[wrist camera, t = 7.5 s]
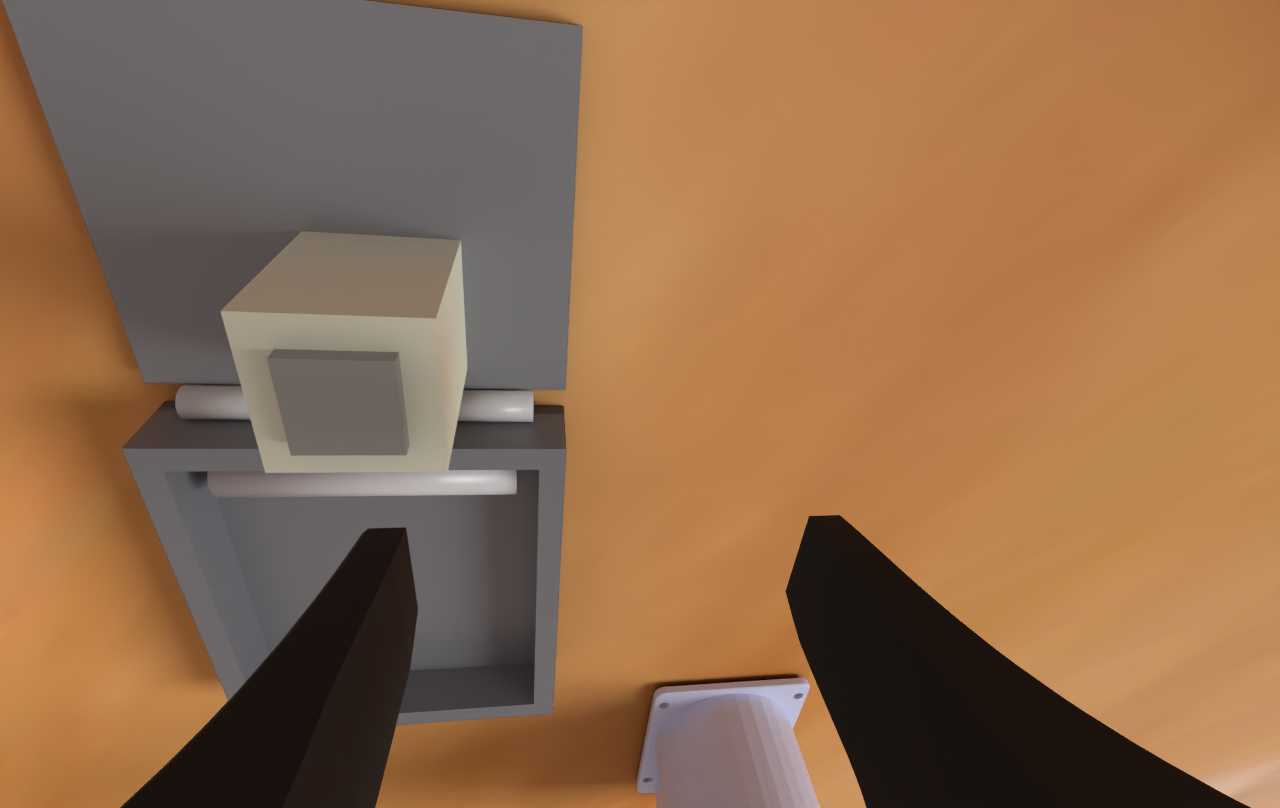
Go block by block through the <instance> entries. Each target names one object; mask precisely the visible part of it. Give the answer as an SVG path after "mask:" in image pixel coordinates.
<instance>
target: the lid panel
mask: <svg viewBox="0 0 1280 808" xmlns="http://www.w3.org/2000/svg"><path fill="white" fill-rule="evenodd" d="M2 2H3V5H4V7H5V10H6V13H7V15H8V18H9V21H10V23H11V26H12V29H13V31H14V34H15V37H16V39H17V42H18V45H19V48H20V50H21V53H22V56H23V58H24V61H25V64H26V66H27V69H28V72H29V74H30V77H31V80H32V82H33V85H34V88H35V90H36V93H37V96H38V99H39V101H40V104H41V107H42V109H43V112H44V115H45V117H46V120H47V123H48V125H49V128H50V131H51V133H52V136H53V139H54V141H55V144H56V147H57V150H58V152H59V155H60V158H61V160H62V163H63V166H64V168H65V171H66V174H67V176H68V179H69V182H70V184H71V187H72V190H73V192H74V195H75V198H76V201H77V203H78V206H79V209H80V211H81V214H82V217H83V219H84V222H85V225H86V227H87V230H88V233H89V235H90V238H91V241H92V243H93V246H94V249H95V252H96V254H97V257H98V260H99V262H100V265H101V268H102V270H103V273H104V276H105V278H106V281H107V284H108V286H109V289H110V292H111V294H112V297H113V300H114V303H115V305H116V308H117V311H118V313H119V316H120V319H121V321H122V324H123V327H124V329H125V332H126V335H127V337H128V340H129V343H130V345H131V348H132V351H133V354H134V356H135V359H136V362H137V364H138V367H139V370H140V372H141V375H142V378H143V380H144V383H177V384H235V385H241V384H240V380H239V376H238V373H237V369H236V366H235V362H234V358H233V355H232V351H231V348H230V344H229V340H228V337H227V333H226V330H225V326H224V322H223V319H222V315H221V312H220V311H221V310H222V309H223V308H224V307H225V306H226V305H227V304H228V303H229V302H230V301H231V300H232V299H233V298H234V297H235V296H236V295H237V294H238V293H239V292H240V291H241V290H242V289H243V288H244V287H245V286H246V285H247V284H248V283H249V282H250V281H252V280H253V279H254V278H255V277H256V276H257V275H258V274H259V273H260V272H261V271H262V270H263V269H264V268H265V267H266V266H267V265H268V264H269V263H270V262H271V261H272V260H273V259H274V258H275V257H276V256H277V255H278V254H279V253H280V252H281V251H282V250H283V249H284V248H285V247H286V246H287V245H288V244H289V243H290V242H291V241H292V240H293V239H294V238H295V237H296V236H297V235H298V234H299V233H300V232H301V231H309V232H327V233H345V234H363V235H380V236H398V237H416V238H434V239H452V240H461V252H462V272H463V291H464V311H465V331H466V350H467V373H466V379H465V384H464V388H469V389H528V390H469V389H463V395H462V400H461V405H460V410H459V416H458V421H482V422H533V408H534V391H529V390H565V388H566V367H567V346H568V325H569V304H570V282H571V261H572V240H573V219H574V198H575V176H576V155H577V134H578V113H579V92H580V70H581V49H582V28H583V26H581V25H574V24H565V23H557V22H548V21H540V20H531V19H523V18H515V17H506V16H498V15H489V14H481V13H472V12H464V11H455V10H447V9H438V8H430V7H421V6H413V5H405V4H396V3H388V2H379V1H371V0H2ZM175 407H176V411H177V413H178V415H179V416H180V417H181V418H182V419H239V420H251V419H250V416H249V412H248V409H247V405H246V402H245V398H244V394H243V391H242V387H241V386H232V385H182V386H181V387H180V388H179V389H178V391H177V394H176V398H175Z"/></svg>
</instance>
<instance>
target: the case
mask: <svg viewBox="0 0 1280 808" xmlns="http://www.w3.org/2000/svg"><path fill="white" fill-rule="evenodd" d="M122 451H123V454H124V456H125V458H126V461H127V463H128V465H129V468H130V470H131V473H132V475H133V477H134V480H135V482H136V484H137V487H138V489H139V491H140V494H141V496H142V499H143V501H144V503H145V506H146V508H147V510H148V513H149V515H150V517H151V520H152V522H153V525H154V527H155V529H156V532H157V534H158V536H159V539H160V541H161V543H162V546H163V548H164V551H165V553H166V555H167V558H168V560H169V562H170V565H171V567H172V569H173V572H174V574H175V577H176V579H177V581H178V584H179V586H180V588H181V591H182V593H183V595H184V598H185V600H186V603H187V605H188V607H189V610H190V612H191V614H192V617H193V619H194V621H195V624H196V626H197V628H198V631H199V633H200V636H201V638H202V640H203V643H204V645H205V647H206V650H207V652H208V654H209V657H210V659H211V662H212V664H213V666H214V669H215V671H216V673H217V676H218V678H219V680H220V683H221V685H222V688H223V690H224V692H225V695H226V697H227V699H228V701H229V700H230V699H231V698H232V696H233V695H234V694H235V693H236V692H237V691H238V690H239V689H240V688H241V686H242V685H243V684H244V683H245V682H246V681H247V680H248V678H249V677H250V676H251V675H252V674H253V673H254V672H255V670H256V669H257V668H258V667H259V666H260V665H261V664H262V662H263V661H264V660H265V659H266V658H267V657H268V656H269V654H270V653H271V652H272V651H273V650H274V649H275V648H276V646H277V645H278V644H279V643H280V642H281V640H282V639H283V638H284V637H285V636H286V634H287V633H288V632H289V631H290V629H291V628H292V627H293V626H294V624H295V623H296V622H297V621H298V619H299V618H300V617H301V615H302V614H303V613H304V612H305V610H306V609H307V608H308V607H309V605H310V604H311V603H312V602H313V600H314V599H315V598H316V597H317V595H318V594H319V593H320V591H321V590H322V589H323V587H324V586H325V585H326V583H327V582H328V581H329V579H330V578H331V577H332V575H333V574H334V573H335V571H336V570H337V568H338V567H339V566H340V564H341V563H342V561H343V560H344V559H345V557H346V556H347V554H348V553H349V552H350V550H351V549H352V547H353V546H354V544H355V543H356V541H357V540H358V539H359V537H360V536H361V534H362V533H363V532H364V531H366V530H367V529H368V528H402V527H406V530H407V537H408V543H409V550H410V557H411V564H412V571H413V577H414V584H415V591H416V598H417V604H418V615H417V622H416V630H415V638H414V645H413V652H412V659H411V666H410V671H409V675H408V679H407V683H406V687H405V691H404V695H403V699H402V703H401V707H400V711H399V715H398V719H397V723H396V725H405V724H419V723H433V722H446V721H460V720H474V719H488V718H502V717H516V716H530V715H544V714H553V700H554V680H555V661H556V641H557V622H558V602H559V583H560V563H561V543H562V524H563V504H564V485H565V465H566V436H565V421H564V406H534V408H533V422H482V421H457V426H456V432H455V437H454V442H453V447H452V453H451V458H450V463H449V469H448V472H337V473H265V470H264V466H263V463H262V459H261V455H260V452H259V448H258V445H257V441H256V437H255V434H254V430H253V427H252V423H251V420H239V419H182V418H181V417H180V416H179V415H178V413H177V411H176V407H175V401H165V402H164V403H163V404H162V405H161V406H160V408H159V409H158V410H157V411H156V412H155V413H154V414H153V415H152V416H151V417H150V418H149V419H148V420H147V422H146V423H145V424H144V425H143V426H142V427H141V428H140V429H139V430H138V431H137V432H136V433H135V434H134V436H133V437H132V438H131V439H130V440H129V441H128V442H127V443H126V444H125V445H124V446H123V447H122Z"/></svg>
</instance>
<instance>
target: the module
mask: <svg viewBox="0 0 1280 808" xmlns="http://www.w3.org/2000/svg"><path fill="white" fill-rule="evenodd" d="M220 312H221V315H222V319H223V322H224V326H225V330H226V333H227V337H228V340H229V344H230V348H231V351H232V355H233V358H234V362H235V366H236V369H237V373H238V376H239V380H240V384H241V387H242V391H243V394H244V398H245V402H246V405H247V409H248V412H249V416H250V419H251V423H252V427H253V430H254V434H255V437H256V441H257V445H258V448H259V452H260V455H261V459H262V463H263V466H264V470H265V473H337V472H448V469H449V463H450V458H451V453H452V447H453V442H454V437H455V432H456V426H457V421H458V416H459V410H460V405H461V400H462V395H463V389H464V384H465V379H466V373H467V350H466V331H465V311H464V291H463V272H462V252H461V240H452V239H434V238H416V237H398V236H380V235H363V234H345V233H327V232H309V231H301V232H300V233H299V234H298V235H297V236H296V237H295V238H294V239H293V240H292V241H291V242H290V243H289V244H288V245H287V246H286V247H285V248H284V249H283V250H282V251H281V252H280V253H279V254H278V255H277V256H276V257H275V258H274V259H273V260H272V261H271V262H270V263H269V264H268V265H267V266H266V267H265V268H264V269H263V270H262V271H261V272H260V273H259V274H258V275H257V276H256V277H255V278H254V279H253V280H252V281H250V282H249V283H248V284H247V285H246V286H245V287H244V288H243V289H242V290H241V291H240V292H239V293H238V294H237V295H236V296H235V297H234V298H233V299H232V300H231V301H230V302H229V303H228V304H227V305H226V306H225V307H224V308H223V309H222V310H221V311H220Z"/></svg>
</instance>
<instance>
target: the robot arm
mask: <svg viewBox="0 0 1280 808" xmlns="http://www.w3.org/2000/svg"><path fill="white" fill-rule="evenodd" d="M786 594H787V598H788V602H789V606H790V609H791V613H792V617H793V621H794V624H795V627H796V631H797V634H798V637H799V641H800V644H801V646H802V649H803V651H804V654H805V656H806V659H807V661H808V663H809V666H810V668H811V671H812V673H813V675H814V678H815V680H816V683H817V685H818V687H819V690H820V692H821V694H822V697H823V699H824V701H825V704H826V706H827V708H828V711H829V713H830V715H831V718H832V720H833V722H834V725H835V727H836V730H837V732H838V734H839V737H840V739H841V741H842V744H843V746H844V748H845V751H846V753H847V755H848V758H849V760H850V763H851V765H852V768H853V770H854V773H855V776H856V778H857V781H858V783H859V786H860V789H861V792H862V795H863V798H864V801H865V804H866V807H867V808H1250V807H1248V806H1246V805H1244V804H1242V803H1240V802H1238V801H1236V800H1234V799H1233V798H1231V797H1229V796H1227V795H1225V794H1223V793H1221V792H1219V791H1218V790H1216V789H1214V788H1212V787H1210V786H1209V785H1207V784H1205V783H1203V782H1201V781H1200V780H1198V779H1196V778H1194V777H1192V776H1191V775H1189V774H1187V773H1185V772H1183V771H1182V770H1180V769H1178V768H1176V767H1174V766H1173V765H1171V764H1169V763H1167V762H1166V761H1164V760H1162V759H1161V758H1159V757H1157V756H1155V755H1154V754H1152V753H1150V752H1149V751H1147V750H1145V749H1144V748H1142V747H1140V746H1138V745H1137V744H1135V743H1133V742H1132V741H1130V740H1128V739H1127V738H1125V737H1124V736H1122V735H1120V734H1119V733H1117V732H1116V731H1114V730H1113V729H1111V728H1109V727H1108V726H1106V725H1105V724H1103V723H1101V722H1100V721H1098V720H1097V719H1095V718H1093V717H1092V716H1090V715H1089V714H1087V713H1085V712H1084V711H1082V710H1081V709H1079V708H1078V707H1076V706H1075V705H1073V704H1072V703H1070V702H1069V701H1067V700H1066V699H1064V698H1063V697H1061V696H1060V695H1058V694H1057V693H1055V692H1054V691H1053V690H1051V689H1050V688H1048V687H1047V686H1045V685H1044V684H1043V683H1041V682H1040V681H1038V680H1037V679H1036V678H1034V677H1033V676H1031V675H1030V674H1029V673H1027V672H1026V671H1024V670H1023V669H1021V668H1020V667H1019V666H1017V665H1016V664H1015V663H1013V662H1012V661H1011V660H1009V659H1008V658H1007V657H1005V656H1004V655H1002V654H1001V653H1000V652H999V651H997V650H996V649H995V648H993V647H992V646H991V645H990V644H988V643H987V642H986V641H985V640H983V639H982V638H981V637H979V636H978V635H977V634H976V633H974V632H973V631H972V630H971V629H969V628H968V627H967V626H966V625H964V624H963V623H962V622H961V621H959V620H958V619H957V618H956V617H955V616H953V615H952V614H951V613H950V612H949V611H948V610H946V609H945V608H944V607H943V606H942V605H940V604H939V603H938V602H937V601H936V600H935V599H933V598H932V597H931V596H930V595H929V594H928V593H926V592H925V591H924V590H923V589H922V588H921V587H920V586H918V585H917V584H916V583H915V582H914V581H913V580H912V579H911V578H909V577H908V576H907V575H906V574H905V573H904V572H903V571H902V570H900V569H899V568H898V567H897V566H896V565H895V564H894V563H893V562H892V561H891V560H889V559H888V558H887V557H886V556H885V555H884V554H883V553H882V552H881V551H880V550H878V549H877V548H876V547H875V546H874V545H873V544H872V543H871V542H870V541H868V540H867V539H866V538H865V537H864V536H863V535H862V534H861V533H860V532H859V531H857V530H856V529H855V528H854V527H853V526H852V525H851V524H849V523H848V522H847V521H846V520H845V519H844V518H842V517H841V516H840V515H831V516H809V519H808V522H807V525H806V528H805V531H804V535H803V538H802V541H801V544H800V547H799V550H798V554H797V557H796V560H795V563H794V566H793V570H792V573H791V576H790V579H789V582H788V585H787V589H786ZM417 615H418V604H417V598H416V591H415V584H414V577H413V571H412V564H411V557H410V550H409V543H408V537H407V530H406V527H402V528H368V529H367V530H366V531H364V532H363V533H362V534H361V536H360V537H359V539H358V540H357V541H356V543H355V544H354V546H353V547H352V549H351V550H350V552H349V553H348V554H347V556H346V557H345V559H344V560H343V561H342V563H341V564H340V566H339V567H338V568H337V570H336V571H335V573H334V574H333V575H332V577H331V578H330V579H329V581H328V582H327V583H326V585H325V586H324V587H323V589H322V590H321V591H320V593H319V594H318V595H317V597H316V598H315V599H314V600H313V602H312V603H311V604H310V605H309V607H308V608H307V609H306V610H305V612H304V613H303V614H302V615H301V617H300V618H299V619H298V621H297V622H296V623H295V624H294V626H293V627H292V628H291V629H290V631H289V632H288V633H287V634H286V636H285V637H284V638H283V639H282V640H281V642H280V643H279V644H278V645H277V646H276V648H275V649H274V650H273V651H272V652H271V653H270V654H269V656H268V657H267V658H266V659H265V660H264V661H263V662H262V664H261V665H260V666H259V667H258V668H257V669H256V670H255V672H254V673H253V674H252V675H251V676H250V677H249V678H248V680H247V681H246V682H245V683H244V684H243V685H242V686H241V688H240V689H239V690H238V691H237V692H236V693H235V694H234V695H233V696H232V698H231V699H230V700H229V701H228V702H227V703H226V704H225V705H224V706H223V707H222V708H221V709H220V710H219V711H218V713H217V714H216V715H215V716H214V717H213V718H212V719H211V720H210V721H209V722H208V723H207V724H206V725H205V726H204V727H203V728H202V729H201V730H200V731H199V732H198V733H197V734H196V735H195V736H194V737H193V738H192V739H191V740H190V741H189V742H188V743H187V744H186V745H185V746H184V747H183V748H182V749H181V750H180V751H179V752H178V753H177V754H176V755H175V756H174V757H173V758H172V759H171V760H170V761H169V762H168V763H167V764H166V765H165V766H164V767H163V768H162V769H161V770H160V771H159V772H158V773H157V774H156V775H155V776H153V777H152V778H151V779H150V780H149V781H148V782H147V783H146V784H145V785H144V786H143V787H142V788H141V789H140V790H139V791H138V792H136V793H135V794H134V795H133V796H132V797H131V798H130V799H129V800H128V801H127V802H126V803H125V804H124V805H123V806H122V807H120V808H375V806H376V802H377V798H378V794H379V790H380V786H381V782H382V779H383V775H384V771H385V767H386V763H387V759H388V755H389V751H390V747H391V743H392V739H393V735H394V731H395V727H396V723H397V719H398V715H399V711H400V707H401V703H402V699H403V695H404V691H405V687H406V683H407V679H408V675H409V671H410V666H411V659H412V652H413V645H414V638H415V630H416V622H417ZM809 689H810V686H809V683H808V681H807V679H805V678H788V679H773V680H758V681H743V682H728V683H713V684H698V685H683V686H668V687H661V688H659V689H657V690H656V691H655V692H654V695H653V700H652V705H651V710H650V715H649V720H648V726H647V731H646V736H645V741H644V746H643V751H642V756H641V761H640V766H639V772H638V777H637V782H636V786H637V791H638V792H639V793H642V794H645V793H655V797H656V803H657V808H820V805H819V803H818V800H817V797H816V794H815V791H814V788H813V785H812V783H811V780H810V777H809V774H808V771H807V768H806V765H805V763H804V760H803V757H802V754H801V751H800V748H799V746H798V743H797V740H796V737H795V734H794V731H793V727H794V725H795V722H796V720H797V718H798V715H799V713H800V710H801V708H802V706H803V703H804V701H805V699H806V696H807V694H808V691H809Z"/></svg>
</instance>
